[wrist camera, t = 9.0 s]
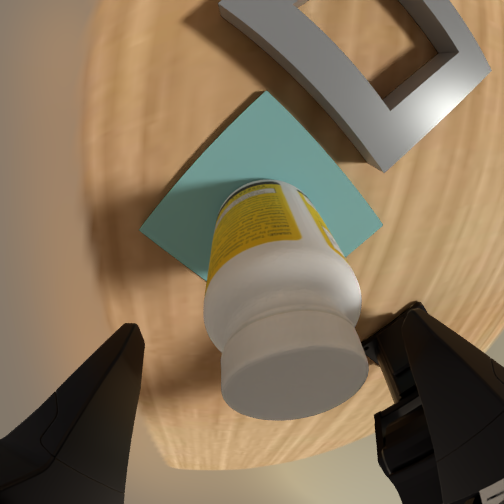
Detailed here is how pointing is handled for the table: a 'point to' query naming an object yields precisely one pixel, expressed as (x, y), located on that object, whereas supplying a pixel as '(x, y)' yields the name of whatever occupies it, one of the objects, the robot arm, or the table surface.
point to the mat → (253, 169)
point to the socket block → (355, 84)
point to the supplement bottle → (282, 306)
